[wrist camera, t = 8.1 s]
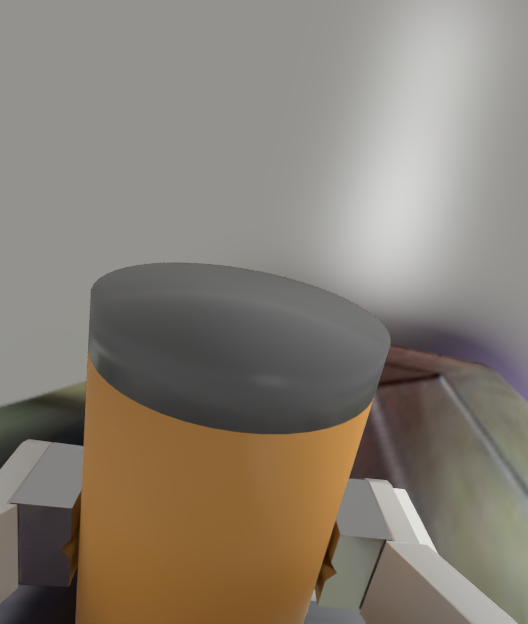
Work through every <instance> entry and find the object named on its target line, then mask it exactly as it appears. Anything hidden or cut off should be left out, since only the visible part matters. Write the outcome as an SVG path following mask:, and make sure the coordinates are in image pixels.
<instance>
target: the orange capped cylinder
mask: <svg viewBox="0 0 528 624" xmlns="http://www.w3.org/2000/svg"><path fill="white" fill-rule="evenodd" d="M390 344H391V343H390V335H389V333H388V331H387V329H386V328H385V327H384V325H383V324H382V323H381V322H380V321H379V320H378V319H377V318H376V317H375V316H373V315H372V314H371V313H369V312H368V311H366V310H365V309H363V308H362V307H360V306H358V305H357V304H355V303H353V302H351V301H349V300H347V299H345V298H343V297H341V296H338V295H336V294H334V293H331V292H329V291H326V290H324V289H321V288H318V287H315V286H313V285H310V284H306V283H303V282H300V281H296V280H293V279H289V278H286V277H281V276H277V275H274V274H268V273H264V272H260V271H254V270H249V269H243V268H236V267H230V266H222V265H212V264H199V263H154V264H144V265H137V266H131V267H126V268H122V269H119V270H115V271H113V272H110V273H108V274H106V275H104V276H103V277H101V278H99V279H98V280H97V281H96V282H95V283H94V285H93V287H92V289H91V300H90V322H89V343H88V364H87V385H86V406H85V428H84V449H83V470H82V491H81V513H80V534H79V555H78V576H77V598H76V619H75V624H304V620H305V617H306V614H307V611H308V608H309V604H310V601H311V598H312V595H313V591H314V588H315V585H316V582H317V579H318V575H319V572H320V569H321V566H322V563H323V559H324V556H325V553H326V550H327V546H328V543H329V540H330V537H331V534H332V530H333V527H334V524H335V521H336V517H337V514H338V511H339V508H340V505H341V501H342V498H343V495H344V492H345V489H346V485H347V482H348V479H349V476H350V472H351V469H352V466H353V463H354V460H355V456H356V453H357V450H358V447H359V444H360V440H361V437H362V434H363V431H364V427H365V424H366V421H367V418H368V415H369V411H370V408H371V405H372V402H373V399H374V395H375V392H376V389H377V386H378V382H379V379H380V376H381V373H382V370H383V366H384V363H385V360H386V357H387V354H388V350H389V347H390Z"/></svg>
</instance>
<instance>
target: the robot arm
mask: <svg viewBox="0 0 528 624" xmlns="http://www.w3.org/2000/svg"><path fill="white" fill-rule="evenodd" d="M83 449H84V446H78V445H70V444H63V443H56V442H54V443H52V442H46V441H38V440H31V439H28V440H26V441H24V442H23V443H21V444H20V446H19V447H18V448H17V449H16V451H15V452H14V453H13V454H12V455H11V457H10V458H9V459H8V460H7V462H6V463H5V464H4V465H3V467H2V468H1V469H0V603H2V602H3V601H4V600H5V599H6V598H7V597H8V596H10V595H11V594H12V593H13V592H14V591H15V590H16V589H18V584H19V585H41V586H62V587H69V585H70V583H71V581H72V578H73V576H74V573H75V571H76V569H77V566H78V555H79V534H80V513H81V491H82V470H83ZM314 590H315V595H316V601H317V606H320V607H329V608H338V609H347V610H357V611H360V615H361V616H362V618H363V619H364V621H365V622H366V623H367V624H518V623H517V622H516V621H515V620H513V619H512V618H511V617H510V616H509V615H508V614H506V613H505V612H504V611H503V610H502V609H501V608H499V607H498V606H497V605H496V604H495V603H494V602H493V601H491V600H490V599H489V598H488V597H487V596H486V595H484V594H483V593H482V592H481V591H480V590H479V589H478V588H476V587H475V586H474V585H473V584H472V583H471V582H469V581H468V580H467V579H466V578H465V577H464V576H462V575H461V574H460V573H459V572H458V571H457V570H456V569H454V568H453V567H452V566H451V565H450V564H449V563H447V562H446V561H445V560H444V559H443V558H442V557H440V556H439V555H438V554H437V553H436V552H435V551H434V550H432V549H431V548H430V547H429V546H428V545H424V544H420V543H419V541H418V539H417V537H416V535H415V533H414V531H413V529H412V527H411V525H410V522H409V520H408V518H407V516H406V514H405V512H404V510H403V508H402V506H401V504H400V502H399V500H398V498H397V496H396V494H395V492H394V490H393V487H392V485H391V484H390V483H389V482H388V481H387V480H377V479H366V478H365V479H361V478H351V477H349V479H348V482H347V485H346V489H345V492H344V495H343V498H342V501H341V505H340V508H339V511H338V514H337V517H336V521H335V524H334V527H333V530H332V534H331V537H330V540H329V543H328V546H327V550H326V553H325V556H324V559H323V563H322V566H321V569H320V572H319V575H318V579H317V582H316V585H315V588H314Z"/></svg>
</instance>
